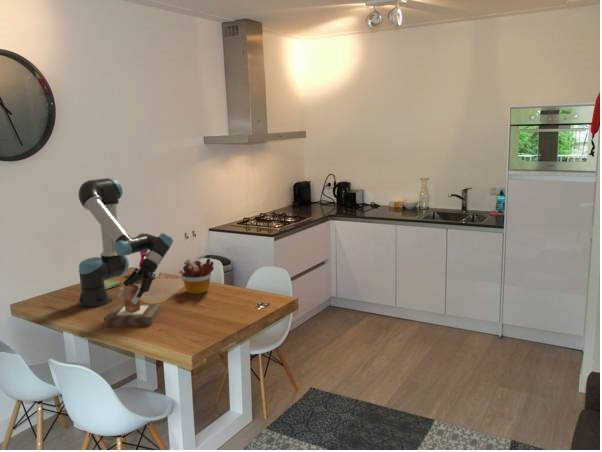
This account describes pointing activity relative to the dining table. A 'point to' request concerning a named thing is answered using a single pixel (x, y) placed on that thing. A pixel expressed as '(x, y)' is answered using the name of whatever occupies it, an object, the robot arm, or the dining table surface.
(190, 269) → the bucket of meat
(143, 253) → the pepper mill
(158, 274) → the foam cup
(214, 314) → the dining table surface
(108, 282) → the washcloth
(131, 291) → the cherry block
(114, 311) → the tray
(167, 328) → the dining table surface
